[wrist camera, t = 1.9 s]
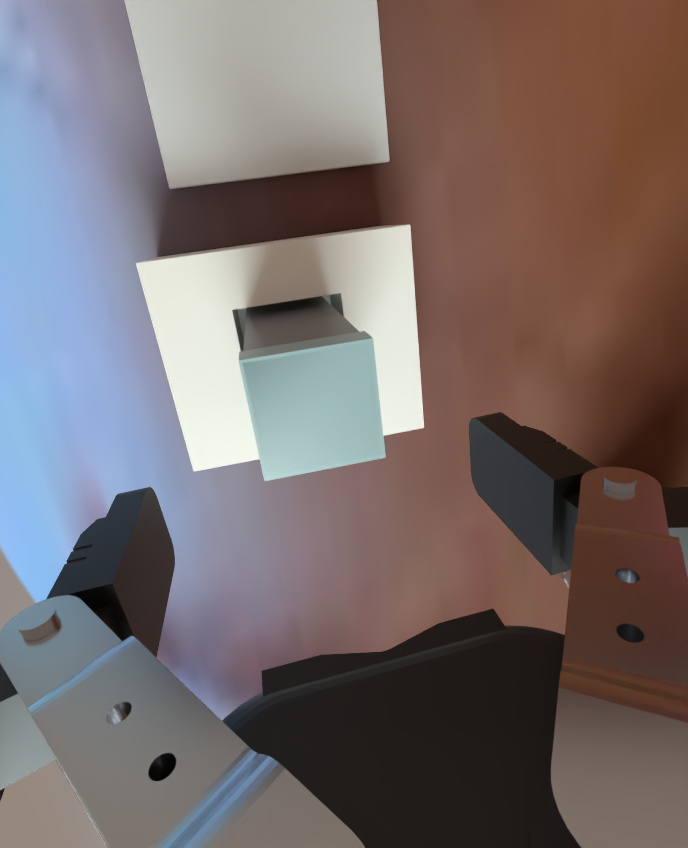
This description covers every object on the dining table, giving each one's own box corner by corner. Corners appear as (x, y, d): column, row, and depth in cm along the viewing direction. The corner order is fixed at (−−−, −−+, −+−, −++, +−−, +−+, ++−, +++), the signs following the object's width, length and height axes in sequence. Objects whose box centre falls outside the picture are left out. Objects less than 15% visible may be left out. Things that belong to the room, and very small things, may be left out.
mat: (370, -35, 22) (373, -41, 22) (386, 162, 25) (389, 160, 25) (122, -15, 21) (119, -22, 21) (171, 189, 24) (169, 188, 24)
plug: (322, 293, 26) (373, 338, 15) (332, 367, 28) (385, 457, 17) (244, 305, 26) (238, 360, 15) (259, 380, 27) (264, 481, 16)
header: (382, 225, 26) (410, 224, 22) (397, 398, 30) (424, 427, 26) (156, 257, 25) (135, 263, 21) (202, 433, 29) (193, 471, 24)
